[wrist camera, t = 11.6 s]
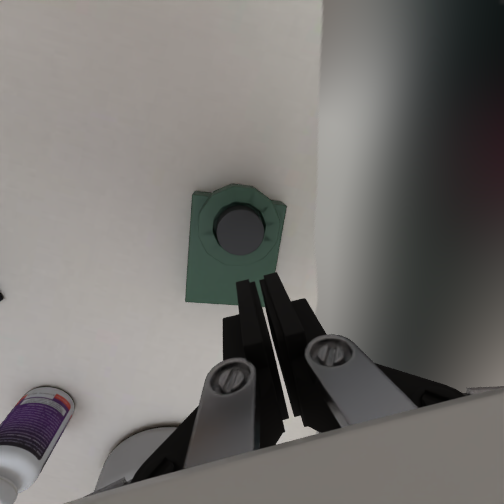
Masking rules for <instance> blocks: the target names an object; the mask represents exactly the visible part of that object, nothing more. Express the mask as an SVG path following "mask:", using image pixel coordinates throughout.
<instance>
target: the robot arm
mask: <svg viewBox="0 0 504 504" xmlns="http://www.w3.org/2000/svg"><path fill="white" fill-rule="evenodd" d="M263 276H264V279H262V280H259V282H260V287H261V291H262V295H263V300H264V304H265V308H266V313H267V317H268V321H269V326H270V330H271V334H272V339H273V342H274V346H275V350H276V353H277V357H278V360H279V364H280V368H281V371H282V375H283V378H284V382H285V385H286V389H287V393H288V396H289V400H290V403H291V407H292V410H293V414H294V417H296V416H300V415H301V418H302V421H303V425H304V427H306V426H309V427H311V428H313V429H315V430H316V431H318V432H319V434H316V435H312V436H308V437H304V438H300V439H297V440H293V441H289V442H285V443H281V444H278V445H276V443H277V441H278V440H279V438H280V436H281V435H282V433H283V432H285V429H284V425H283V421H282V420H285V419H289V416H288V412H287V407H286V403H285V399H284V395H283V390H282V386H281V382H280V377H279V373H278V369H277V365H276V360H275V356H274V352H273V347H272V343H271V339H270V335H269V332H268V328H267V324H266V320H265V317H264V313H263V309H262V306H261V302H260V298H259V294H258V291H257V287H256V283H255V281H254V282H250V281H249V279H247V280H243V281H238V282H236V289H237V298H238V307H239V315H235V316H231V317H226V318H223V361H222V362H220V363H218V364H217V365H216V366H214V367H213V368H212V369H211V371H210V372H209V373H208V375H207V377H206V379H205V383H204V387H203V391H202V395H201V399H200V403H199V406H198V407H197V408H196V409H195V410H194V411H193V412H192V413H191V414H190V415H189V416H188V417H187V418H186V419H185V420H184V421H183V422H182V423H181V424H180V425H179V426H178V428H177V429H176V430H175V431H174V432H173V433H172V434H171V435H170V436H169V437H168V438H167V439H166V440H165V441H164V442H163V443H162V444H161V445H160V446H159V447H158V448H157V449H156V450H155V451H154V452H153V453H152V455H151V456H150V457H149V458H148V459H147V460H146V461H145V462H144V463H143V464H142V465H141V467H140V468H139V469H138V470H137V472H136V473H135V475H134V477H133V479H131V480H129V481H126V479H125V477H123V478H121V479H119V480H117V481H115V482H113V483H111V484H109V485H107V486H105V487H103V488H101V489H99V490H97V491H95V492H93V493H91V494H89V495H87V496H85V497H83V498H80V499H77V500H74V501H71V502H67V503H64V504H504V386H501V387H479V388H467V390H466V393H461V392H459V391H458V390H456V389H454V388H451V387H449V386H447V385H444V384H441V383H437V382H434V381H431V380H428V379H424V378H421V377H418V376H415V375H411V374H408V373H405V372H402V371H399V370H395V369H392V368H389V367H385V366H382V365H379V364H376V363H373V361H372V360H371V359H370V358H368V356H366V354H364V352H363V351H361V350H360V348H358V346H357V345H356V344H355V343H354V342H352V341H351V340H350V339H348V338H346V337H343V336H340V335H334V334H329V335H327V334H326V333H325V331H324V329H323V328H322V326H321V324H320V323H319V321H318V319H317V317H316V316H315V314H314V312H313V311H312V309H311V307H310V306H309V304H308V302H307V300H306V299H305V298H303V299H299V300H295V301H290V299H289V297H288V295H287V293H286V291H285V289H284V286H283V284H282V282H281V280H280V278H279V276H278V274H277V272H275V273H271V274H267V275H263Z"/></svg>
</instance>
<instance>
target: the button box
mask: <svg viewBox="0 0 504 504" xmlns="http://www.w3.org/2000/svg"><path fill="white" fill-rule="evenodd" d="M237 205H242V206H246V207H249V208H251V209H252V210H254V211H255V212H256V213H257V215H258V216H259V218H260V220H261V221H262V223H263V226H264V238H263V241H262V243H261V244H260V246H259V247H258V248H257V249H256V250H255V251H253V252H252V253H249V254H247V255H234V254H231V253H229V252H227V251H225V250H224V249H223V248H222V247H221V245H220V244H219V242H218V239H217V222H218V219H219V217H220V215H221V214H222V213H223V212H224V211H225V210H226V209H228V208H230V207H232V206H237ZM286 207H287V206H286V205H285V204H284V203H283V202H281V201H274V200H270V199H269V198H268V197H266V196H265V195H264V194H263V193H261V192H260V191H259V190H257V189H256V188H255V187H253V186H248V185H240V184H230V185H228V186H225V187H223V188H221V189H218V190H216V191H214V192H213V193H208V192H200V191H194V193H193V195H192V206H191V221H190V236H189V251H188V267H187V282H186V297H185V302H195V303H211V304H226V305H238V298H237V289H236V282H238V281H243V280H247V279H249V281H250V282H254V281H255V283H256V287H257V291H258V294H259V298H260V302H261V306H262V307H265V304H264V300H263V295H262V291H261V287H260V282H259V280H262V279H264V276H263V275H267V274H271V273H275V270H276V264H277V258H278V253H279V247H280V241H281V236H282V230H283V224H284V219H285V213H286Z"/></svg>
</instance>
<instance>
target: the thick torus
mask: <svg viewBox="0 0 504 504" xmlns="http://www.w3.org/2000/svg"><path fill="white" fill-rule="evenodd" d="M176 429H177V427H162V428H155V429H150V430H146V431H143V432H140V433H138V434H135V435H133V436H131V437H129V438H128V439H126V440H125V441H123V442H122V443H121V444H119V445H118V446H117V447H116V448H115V449H114V450H113V451H112V452H111V454H110V455H109V456H108V458H107V460H106V461H105V463H104V466H103V468H102V471H101V474H100V476H99V479H98V482H97V484H96V487H95V490H94V492H95V491H97V490H99V489H101V488H103V487H105V486H107V485H109V484H111V483H113V482H115V481H117V480H119V479H121V478H123V477H125V479H126V481H129V480H131V479H133V477H134V475H135V473H136V472H137V470H138V469H139V468H140V467H141V465H142V464H143V463H144V462H145V461H146V460H147V459H148V458H149V457H150V456H151V455H152V453H153V452H154V451H155V450H156V449H157V448H158V447H159V446H160V445H161V444H162V443H163V442H164V441H165V440H166V439H167V438H168V437H169V436H170V435H171V434H172V433H173V432H174V431H175V430H176Z"/></svg>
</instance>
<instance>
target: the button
mask: <svg viewBox="0 0 504 504" xmlns="http://www.w3.org/2000/svg"><path fill="white" fill-rule="evenodd" d="M263 238H264V226H263V223H262V221H261V220H260V218H259V216H258V215H257V213H256V212H255V211H254V210H252V209H251V208H249V207H246V206H242V205H237V206H232V207H230V208H228V209H226V210H225V211H224V212H223V213H222V214H221V215H220V217H219V219H218V222H217V239H218V242H219V244H220V245H221V247H222V248H223V249H224V250H225V251H227V252H229V253H231V254H234V255H247V254H249V253H252V252H253V251H255V250H256V249H257V248H258V247H259V246H260V244H261V243H262V241H263Z"/></svg>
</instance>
